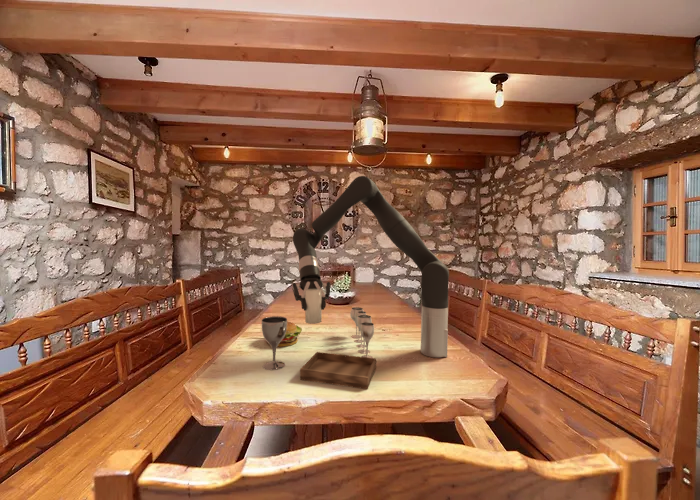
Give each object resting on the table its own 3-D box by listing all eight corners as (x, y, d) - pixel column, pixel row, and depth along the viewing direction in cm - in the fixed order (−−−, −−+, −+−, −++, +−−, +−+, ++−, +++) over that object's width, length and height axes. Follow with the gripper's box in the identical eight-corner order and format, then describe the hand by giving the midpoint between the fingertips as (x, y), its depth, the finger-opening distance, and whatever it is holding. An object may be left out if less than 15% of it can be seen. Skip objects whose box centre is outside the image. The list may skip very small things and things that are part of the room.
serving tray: (376, 368, 98) (376, 358, 98) (367, 389, 85) (367, 377, 85) (316, 361, 103) (316, 351, 103) (300, 379, 90) (300, 369, 90)
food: (284, 351, 112) (284, 329, 112) (257, 344, 119) (257, 323, 119) (308, 340, 124) (309, 321, 123) (283, 334, 131) (283, 316, 131)
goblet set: (376, 360, 105) (377, 321, 105) (359, 361, 104) (360, 322, 104) (362, 334, 133) (362, 304, 132) (348, 334, 132) (349, 304, 131)
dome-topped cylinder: (323, 319, 109) (323, 289, 109) (318, 324, 104) (318, 292, 103) (309, 318, 111) (309, 288, 110) (302, 323, 105) (302, 291, 105)
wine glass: (291, 362, 102) (291, 317, 101) (278, 372, 94) (278, 323, 94) (270, 359, 104) (270, 315, 104) (256, 368, 97) (256, 321, 96)
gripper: (290, 264, 112) (293, 304, 101) (329, 263, 116) (336, 301, 105) (289, 277, 117) (292, 316, 106) (326, 276, 121) (333, 313, 110)
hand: (314, 308), depth 105 cm, fingers closed on dome-topped cylinder, 5 cm apart
